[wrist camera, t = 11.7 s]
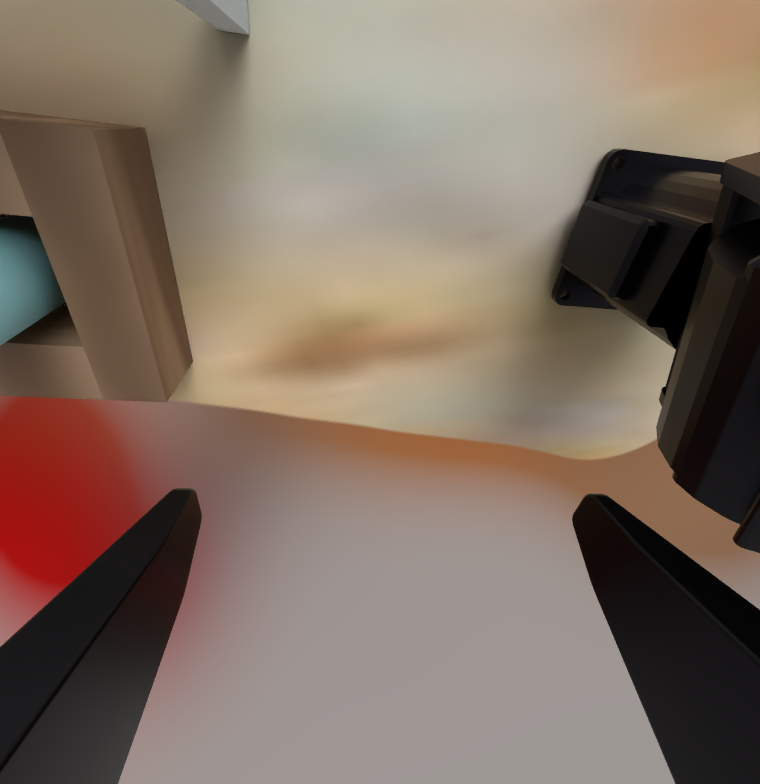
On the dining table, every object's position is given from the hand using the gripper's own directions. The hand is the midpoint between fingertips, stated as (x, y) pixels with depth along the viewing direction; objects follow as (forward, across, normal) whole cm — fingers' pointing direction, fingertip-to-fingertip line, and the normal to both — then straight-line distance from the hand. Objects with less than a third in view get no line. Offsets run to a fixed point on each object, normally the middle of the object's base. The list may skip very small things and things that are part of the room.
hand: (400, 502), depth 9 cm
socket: (+12, +14, -1) cm, 18 cm away
